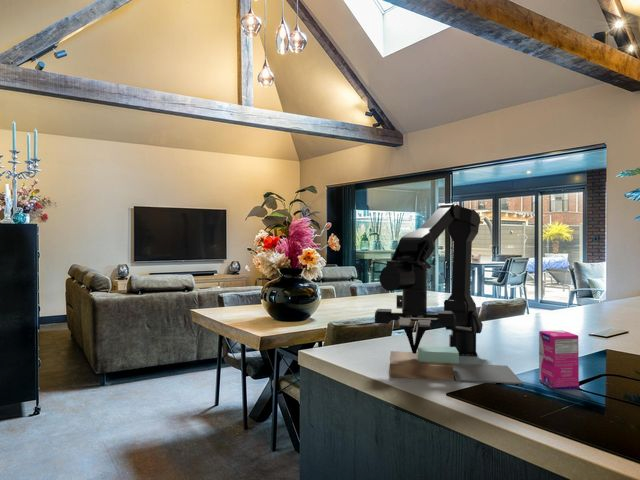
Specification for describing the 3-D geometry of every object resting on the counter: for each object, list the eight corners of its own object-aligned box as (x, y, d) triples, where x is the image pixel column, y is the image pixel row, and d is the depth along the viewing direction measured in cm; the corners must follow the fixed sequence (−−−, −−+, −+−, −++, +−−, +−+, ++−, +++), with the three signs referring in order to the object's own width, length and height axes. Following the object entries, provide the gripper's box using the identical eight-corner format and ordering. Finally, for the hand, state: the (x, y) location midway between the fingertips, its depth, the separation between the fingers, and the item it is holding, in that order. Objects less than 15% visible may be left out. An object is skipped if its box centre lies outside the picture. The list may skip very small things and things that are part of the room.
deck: (447, 365, 114) (447, 353, 114) (453, 379, 102) (453, 366, 102) (390, 362, 116) (390, 351, 116) (390, 376, 104) (390, 363, 104)
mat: (507, 367, 113) (507, 365, 113) (523, 384, 99) (523, 383, 99) (448, 364, 115) (448, 362, 115) (456, 381, 101) (456, 379, 101)
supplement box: (537, 381, 101) (538, 330, 101) (563, 381, 102) (563, 329, 102) (553, 390, 96) (553, 335, 96) (580, 389, 96) (580, 335, 96)
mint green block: (455, 357, 111) (455, 347, 111) (458, 363, 105) (458, 353, 105) (417, 355, 112) (417, 345, 112) (418, 361, 106) (418, 351, 106)
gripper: (450, 285, 116) (450, 347, 116) (376, 284, 119) (376, 344, 119) (456, 290, 105) (456, 358, 105) (374, 288, 108) (374, 354, 108)
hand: (414, 353), depth 109 cm, fingers closed
